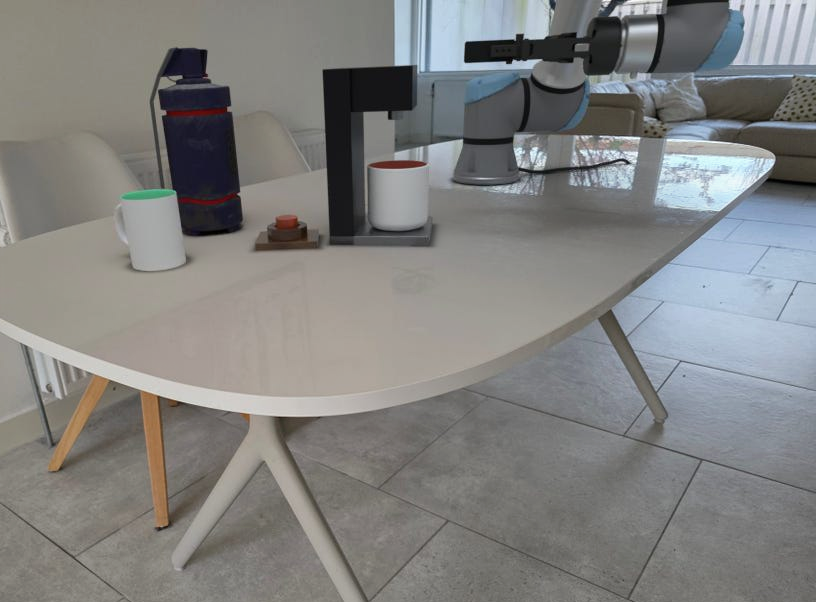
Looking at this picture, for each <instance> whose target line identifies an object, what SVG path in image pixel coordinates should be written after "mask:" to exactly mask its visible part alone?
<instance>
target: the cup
mask: <svg viewBox="0 0 816 602" xmlns="http://www.w3.org/2000/svg"><path fill="white" fill-rule="evenodd" d="M366 175H367V176H366V177H367V179H366V181H367V217H368V221H369V223H370V224H371V225H372V226H373V227H374V228H377V229H380V230H385V231H407V230H413V229H417V228H420V227H422V226H423V225H424V224H425V223H426V222H427V219H428V217H429V187H430V186H429V185H430V183H429V182H430V163H428V162H427V161H423V160H422V161H421V160H409V159H397V160H395V159H394V160H384V161H376V162H371V163H369V164H367V166H366Z"/></svg>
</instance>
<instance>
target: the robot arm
mask: <svg viewBox="0 0 816 602" xmlns="http://www.w3.org/2000/svg"><path fill="white" fill-rule="evenodd" d="M602 4H603V0H556V3H555V7H554V11H553V15H552V19H551V22H550V27H549V29H548V34H547V35H546V36H545V37H544V38H537V39H536V38H534V39H530V38H525V37H524V36H525V33H516V34H515V38H510V39H490V40H489V39H487V40H469V41H468V40H467V41H465V42H464V49H463V63H464V64H479V63H482V64H483V63H503V62H504V63H505V65H513V62H514V61H515V62H521V61H522V62H527V61H535V60H539V61H537V62H536V63H535V64H534V65H533V66H532V69H531V73H530V76H529V77H521V75H520V73H519V71H517V70H515V71H506V72H505V71H504V72H498V73H492V74H488V75H482V76H478V77H474V78H471V79H470V80H469V81H468V82H467V83H466V86H465V92H464V100H463V104H464V106H463V107H464V108H463V109H464V110H463V128H462V129H463V131H462V132H463V133H462V148H461V151H460V153H459V156H458V160H457V162H456V164H455V167H454V170H453V181H454V182H457V183H460V184H465V185H476V186H478V185H479V186H480V185H481V186H494V185H506V184H512V183H516V182H517V181H519V178H520V177H519V176H520V172H523V173H528V174H532V175H539V174H549V173H556V172H566V171H580V170H590V169H597V168H601V167H604V166H610V165H613V164H616V163H617V164H618V163H620V162H621V163H622V162H623V163H624V164H626V165H631V162H630V161H629V160H628V159H627V158H615V159H612V160H609V161H604V162H599V163H596V164H590V165H579V166H563V167H553V168H548V169H540V170H539V169H538V170H537V169H529V168H525V167H519V164H518V161H517V157H516V152H515V148H514V140H515V133H535V132H553V133H556V132H560V131H569V130H571V129H573V128H576V126H577V125H579V123H580V122H581V121H582V119H583V118H584V116H585V115H586V112H587V110H588V107H589V102H590V99H589V98H590V95H591V84H590V81H589V79H588V77H591V76H593V77H594V76H596V77H597V76H610V75H611V74H612V73H613V72H614V73H615V74H616V75H629V78H630V79H631V80H633V79H636V78H637V77H638V74H679V73H681V74H682V73H683V74H684V73H687V74H688V73H701V72H711V71H720V70H723V69H725V68H728V67H729V66H730V65H732V63H733V62H734V61H735V59H736V58H737V57H738V54H739V52H740V51H741V47H742V44H743V41H744V37H745V30H744V27H745V24H746V20H745V16H744V14H743V13H742V12H741V10H738V9H737V10H736V9H732V8H730V0H666V11H665V13H645V14H625V15H624V16H623V17H621V18H620V17H619V16H617V15H613V16H612V15H611V16H599V13H600V10H601V7H602Z"/></svg>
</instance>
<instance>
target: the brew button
mask: <svg viewBox="0 0 816 602" xmlns="http://www.w3.org/2000/svg"><path fill="white" fill-rule="evenodd" d="M298 218H299V217H298V216H297V215H295V214H283V215H278V216H276V217H275V222H276V228H282V229H284V228H294V227H298V221H299V220H298Z"/></svg>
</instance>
